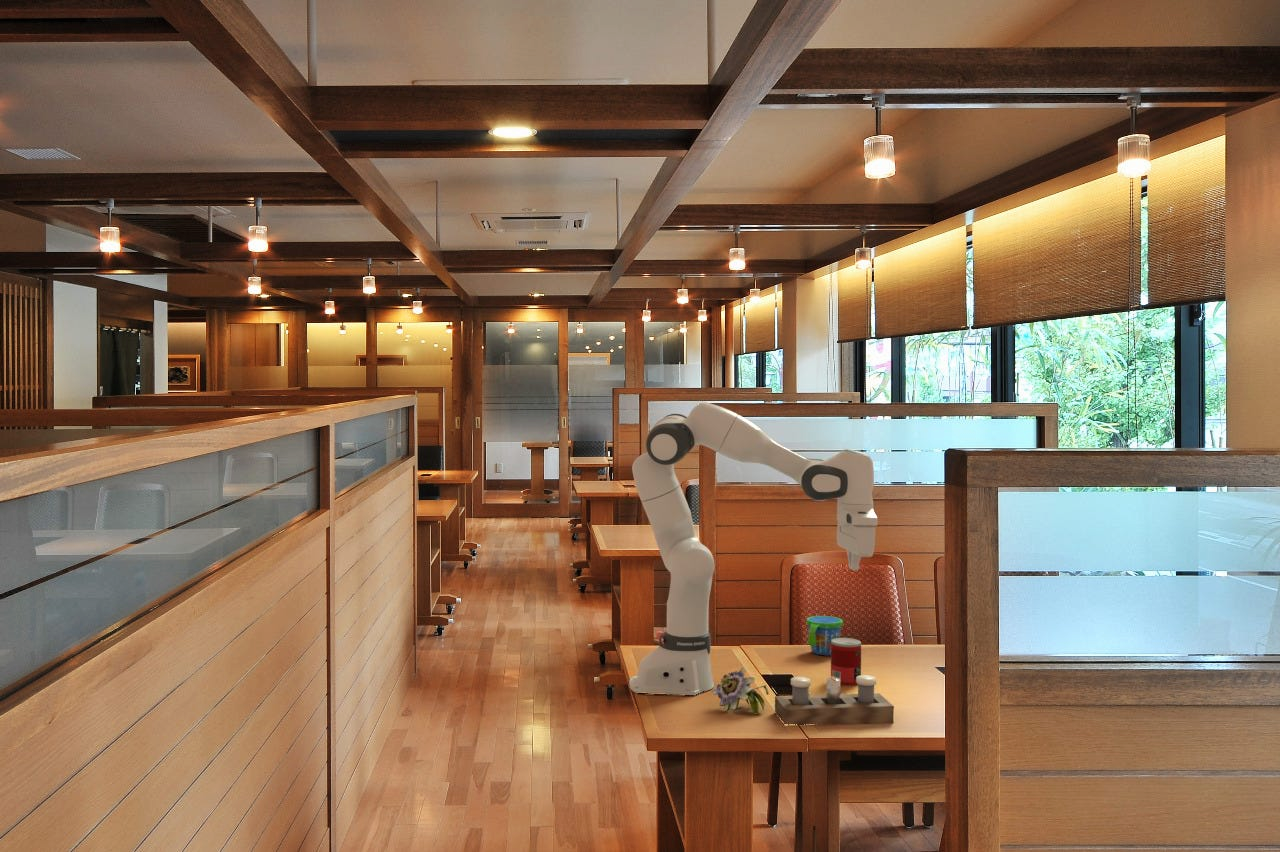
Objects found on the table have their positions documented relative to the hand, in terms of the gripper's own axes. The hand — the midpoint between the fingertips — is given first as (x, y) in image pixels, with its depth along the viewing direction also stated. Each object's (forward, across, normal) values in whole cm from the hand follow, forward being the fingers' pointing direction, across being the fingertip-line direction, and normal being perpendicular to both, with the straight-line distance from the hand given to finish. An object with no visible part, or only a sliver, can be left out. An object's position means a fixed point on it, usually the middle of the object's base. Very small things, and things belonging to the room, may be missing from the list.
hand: (853, 569), depth 249 cm
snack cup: (+33, -46, +6) cm, 57 cm away
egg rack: (+33, +13, -8) cm, 37 cm away
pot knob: (+30, +13, -8) cm, 34 cm away
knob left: (+33, +13, -16) cm, 39 cm away
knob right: (+33, +13, 0) cm, 35 cm away
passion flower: (+34, +4, -29) cm, 45 cm away
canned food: (+33, -16, +4) cm, 37 cm away
